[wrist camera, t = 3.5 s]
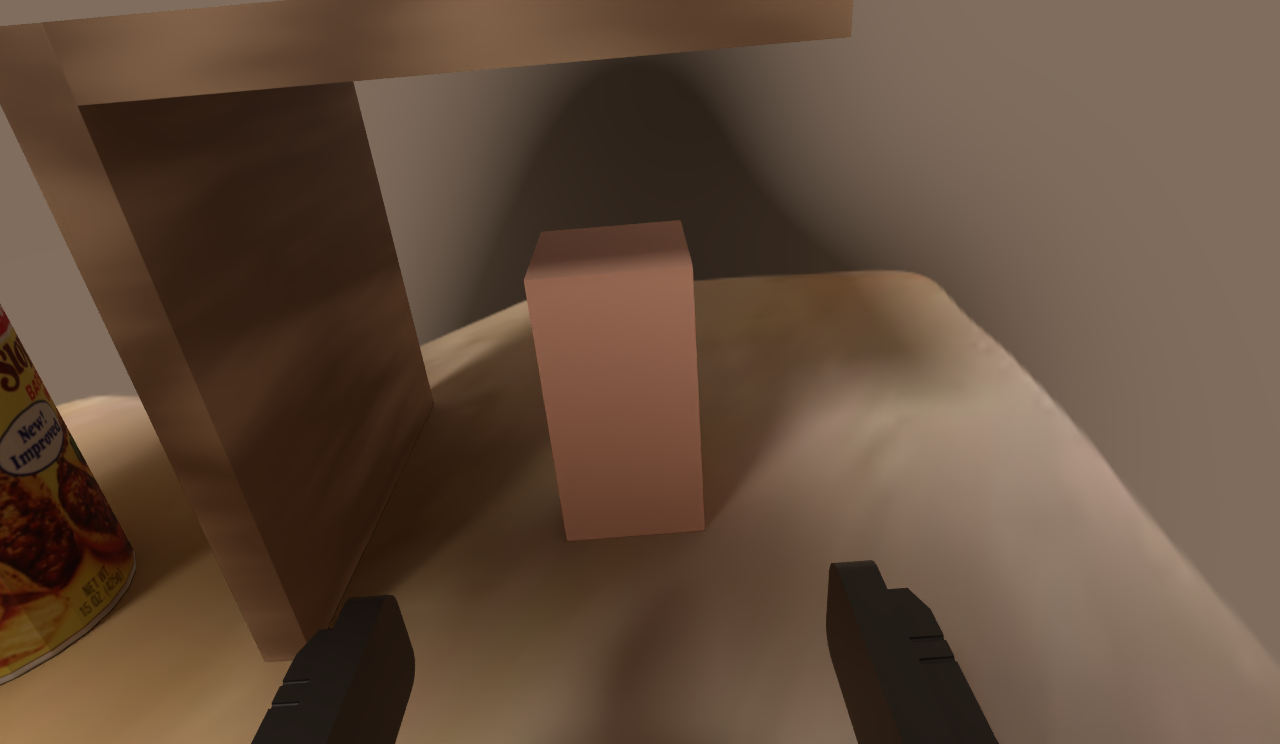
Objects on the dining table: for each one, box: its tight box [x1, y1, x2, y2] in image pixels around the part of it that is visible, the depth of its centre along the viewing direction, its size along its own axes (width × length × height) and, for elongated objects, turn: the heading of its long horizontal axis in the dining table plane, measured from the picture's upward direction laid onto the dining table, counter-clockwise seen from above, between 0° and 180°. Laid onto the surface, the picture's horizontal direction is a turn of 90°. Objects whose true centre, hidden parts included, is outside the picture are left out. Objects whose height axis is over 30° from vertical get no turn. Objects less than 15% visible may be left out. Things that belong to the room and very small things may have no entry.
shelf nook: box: [0, 0, 853, 662], centre depth 24 cm, size 17×16×18 cm
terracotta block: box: [524, 220, 705, 541], centre depth 25 cm, size 5×5×10 cm
